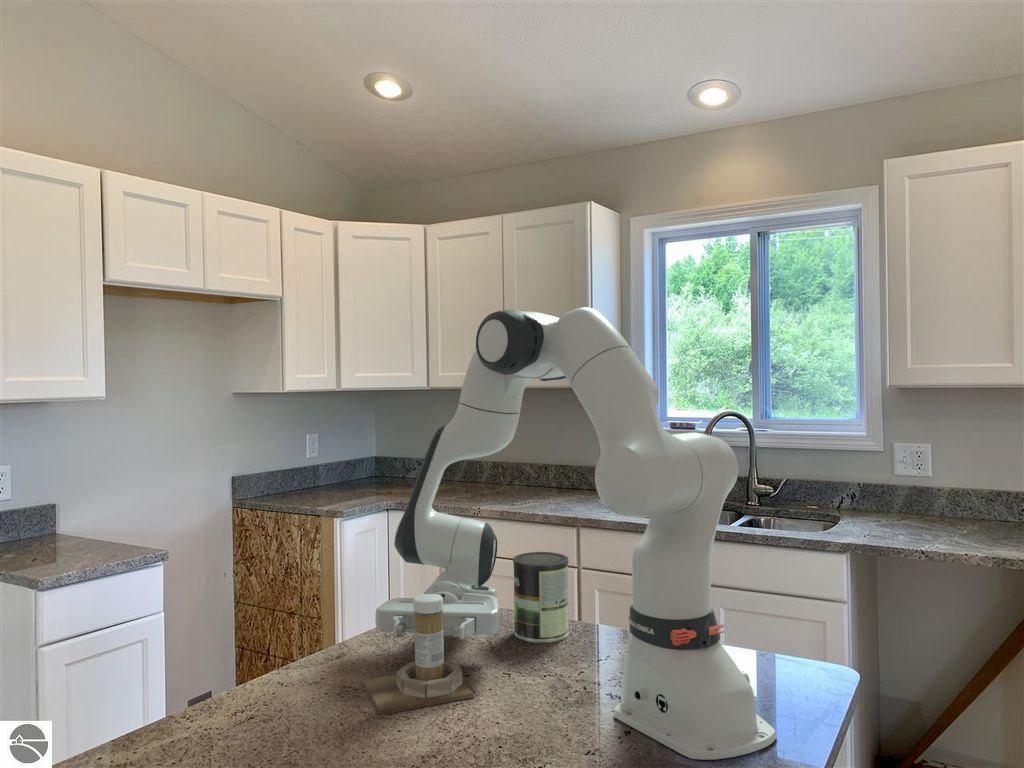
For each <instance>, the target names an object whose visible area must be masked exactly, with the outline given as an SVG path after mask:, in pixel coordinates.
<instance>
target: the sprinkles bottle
mask: <svg viewBox="0 0 1024 768" xmlns="http://www.w3.org/2000/svg"><path fill="white" fill-rule="evenodd" d="M413 598H414V600H413V610H414V614H415V632H414V659H415V660H414V662H415V664H416V680H422V681H431V680H436V679H442V678H444V674H443V663H444V661H445V660H444V659H445V657H444V656H445V655H444V652H445V651H444V649H445V648H444V634H443V624H442V612H443V610H442V609H443V597H442V596H440V595H437V594H424V593H423V594H419V595H416V596H415V597H413Z"/></svg>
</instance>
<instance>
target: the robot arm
mask: <svg viewBox="0 0 1024 768" xmlns="http://www.w3.org/2000/svg"><path fill="white" fill-rule="evenodd" d="M535 379H538V380H540V381H542V382H547V381H548V382H549V381H554V380H555V381H557V380H558V381H559V380H564V379H566V381H567V382H568V383H569V386H570V387H571V389H572V390H573V392H574V394H575V396H576V397H577V399H578V401H579V403H580V404H581V405H582V408H583V409H584V411H585V412H586V414H587V416H588V418H589V419H590V421H591V423H592V425H593V427H594V430H595V433H596V436H597V438H598V442H599V443H598V444H599V449H600V450H599V451H600V454H599V459H598V461H597V463H596V466H595V471H594V472H595V473H594V485H595V489H596V491H597V494H598V497H599V498H600V501H601V502H602V503H603V505H604V506H605V507H606V508H607V509H608V510H609V511H611V512H612V513H614V514H616V515H618V516H624V517H625V516H626V517H632V518H642V519H643V518H649V520H648V522H647V525H646V528H645V530H644V533H643V535H642V536H641V538H640V540H639V541H638V542H637V543H636V545H635V547H634V548H633V551H632V557H631V587H632V589H631V592H632V593H631V596H632V603H631V604H630V606H629V613H628V623H629V632H630V634H631V638H630V642H629V645H628V648H627V650H626V652H625V654H624V657H623V664H622V665H623V666H622V677H621V678H622V679H621V692H620V693H621V694H620V702H619V703H618V704H617V705H615V707H614V712H613V713H614V714H613V716H614V718H615V719H617V720H619V721H620V722H622V723H623V724H626V725H627V726H629V727H631V728H633V729H635V730H637V731H638V732H641V733H642V734H644V735H646V736H648V737H649V738H651V739H652V740H655V741H656V742H659V743H660V744H662V745H664V746H666V747H668V748H669V749H672V750H673V751H675V752H677V753H679V754H681V755H682V756H684V757H687V758H689V759H692V760H702V761H703V760H707V761H708V760H711V761H712V760H721V759H729V758H735V757H738V756H739V757H740V756H743V755H747V754H750V753H754V752H757V751H759V750H762V749H764V748H766V747H769V746H770V745H771V744H773V743H774V741H776V739H777V731H776V729H775V728H774V727H773V726H772V725H770V724H769V723H768V721H766V720H765V719H763V718H762V717H761V716H760V715H758V713H757V707H756V699H755V697H756V696H755V693H754V690H753V688H752V685H751V681H750V677H749V675H748V672H746V671H741V669H739V667H738V665H736V663H735V661H734V660H733V659H732V657H731V656H730V654H729V653H728V651H727V650H726V649H725V647H724V646H723V644H722V642H721V641H720V640H721V634H723V633H724V632H725V631H723V630H720V629H723V628H724V627H725V625H724V624H718V621H717V620H718V619H717V618H716V615H715V611H714V608H712V554H713V548H714V543H715V537H716V534H717V529H718V525H719V522H720V521H719V520H720V518H721V517H720V516H721V513H722V511H723V510H722V509H723V508H724V504H725V501H726V499H727V497H728V495H729V493H730V492H731V491H732V489H733V488H734V487H735V485H736V482H737V480H738V476H739V463H738V459H737V456H736V454H735V451H734V450H733V448H732V447H731V446H730V445H729V444H728V443H727V442H726V441H725V440H723V439H721V438H719V437H716V436H713V435H710V434H704V433H701V432H695V431H693V432H684V433H683V432H682V433H673V434H671V433H669V432H668V431H666V429H665V428H664V427H663V426H662V424H661V421H660V419H659V416H658V414H657V413H658V412H657V409H656V407H657V404H658V402H659V397H660V394H659V388H658V385H657V384H656V383H655V381H654V380H653V378H652V377H651V375H650V374H649V372H648V370H647V369H646V367H644V365H643V363H642V362H641V360H640V358H638V356H637V355H636V353H635V352H634V350H633V349H632V347H631V346H630V345H629V344H628V341H627V340H626V339H625V338H624V337H623V336H622V334H621V333H620V332H619V330H618V329H616V326H614V325H613V324H612V323H611V322H610V321H609V320H608V319H607V318H606V317H605V316H604V315H603V314H602V313H601V312H599V311H598V310H597V309H594V308H591V307H583V306H582V307H578V308H574V309H572V310H569V311H568V312H566V313H564V314H563V315H562V316H561V317H558V316H555V315H554V316H553V315H551V314H546V313H543V312H537V311H528V310H527V311H525V310H523V311H519V310H518V309H517V310H516V309H504V310H497V311H494V312H492V313H490V314H488V315H486V317H484V319H483V320H481V323H480V324H479V326H478V329H477V331H476V335H475V351H474V352H473V354H472V356H471V359H470V361H469V364H468V366H467V369H466V372H465V375H464V379H463V382H462V387H461V391H460V396H459V402H458V406H457V408H456V411H455V414H454V416H453V417H452V419H451V420H450V421H449V422H448V424H444V425H441V426H439V428H438V429H437V430H436V431H435V433H434V435H433V436H432V439H431V441H430V443H429V446H428V448H427V450H426V452H425V455H424V458H423V461H422V464H421V466H420V468H419V471H418V475H417V478H416V480H415V483H414V485H413V488H412V491H411V494H410V497H409V500H408V502H407V505H406V508H405V510H404V513H403V514H402V517H401V518H400V521H399V523H398V525H397V526H396V530H395V535H394V543H393V544H394V548H395V549H396V551H397V552H398V555H399V556H400V557H401V559H402V560H403V561H404V562H405V563H409V564H416V565H422V566H423V565H424V566H425V565H427V566H430V567H431V566H432V567H437V568H441V569H444V570H442V572H440V573H439V575H438V576H437V577H436V579H435V580H434V581H433V582H432V583H431V584H430V585H429V586H428V588H427V589H425V591H424V592H423V594H437V595H440V596H442V597H443V609H442V610H443V612H442V624H443V635H448V634H449V635H451V634H453V639H458V640H459V639H460V640H461V639H463V640H464V638H465V637H466V636H469V635H486V636H487V635H488V636H490V635H491V636H492V635H496V634H498V633H499V631H500V601H499V598H497V590H496V589H495V588H494V587H488V586H484V584H486V583H487V582H488V581H489V580H490V578H491V576H492V573H493V571H494V568H495V565H496V559H497V554H498V539H497V536H496V533H495V532H494V530H493V527H492V526H491V525H490V524H489V523H488V522H485V521H482V520H477V519H472V518H468V517H465V516H462V517H461V516H457V515H452V514H448V513H443V512H438V511H436V510H435V509H434V508H433V503H434V500H435V497H436V495H437V492H438V490H439V486H440V484H441V482H442V481H441V480H442V479H443V475H444V473H445V470H446V469H447V467H448V466H450V465H451V464H454V463H457V462H459V461H464V460H469V459H470V460H472V459H476V458H477V459H478V458H482V457H487V456H491V455H492V454H495V453H497V452H501V451H502V450H503V449H505V448H506V447H507V446H508V445H509V444H511V442H512V441H513V439H514V437H515V434H516V431H517V427H518V424H519V419H520V417H521V416H520V415H521V409H522V404H523V403H522V402H523V396H524V393H525V389H526V387H527V385H528V384H529V383H530V382H531V381H533V380H535ZM414 598H415V597H409V598H408V597H394V598H392V599H389V600H387V601H385V602H384V603H382V604H380V605H379V606H378V607H377V608H376V610H375V628H376V630H378V631H379V632H383V633H384V632H386V633H387V632H388V633H389V632H391V633H393V637H404V636H406V633H415V614H414V610H413V600H414Z"/></svg>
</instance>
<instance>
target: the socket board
mask: <svg viewBox="0 0 1024 768" xmlns="http://www.w3.org/2000/svg"><path fill="white" fill-rule="evenodd" d="M443 674H444V678H442V679H436V680H431V681H422V680H416V664H415V661H412V662H409V663H407V664H406V665H404V666H403V667H401V668H399V669H398V670H397V671H396V674H391V675H384V676H378V677H371V678H367V679H363V680H362V681H363V682H362V683H364V684H363V685H365V686H366V688H367V689H366V688H365V689H366V691H367V690H368V691H367V693H368V692H369V693H368V695H369V694H370V695H369V696H371V697H370V698H372V699H373V700H372V699H371V700H372V702H373V701H374V702H373V704H374V703H375V704H374V706H375V705H376V706H375V708H376V707H377V708H376V710H377V709H378V710H377V711H378V713H379V715H380V716H382V715H386V714H387V715H388V714H393V713H397V712H399V713H400V712H402V711H403V712H404V711H409V710H414V709H419V708H425V707H429V706H437V705H440V704H445V703H450V702H456V701H461V700H467V699H472V698H474V693H473V691H472V690H471V689H470V688H469V687H468V686H467V684H466V683H465V682H464V681H463V670H462V668H461V667H459V665H458V664H456V662H454V661H449V660H444V663H443ZM365 686H364V687H365Z"/></svg>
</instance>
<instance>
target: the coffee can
mask: <svg viewBox="0 0 1024 768" xmlns="http://www.w3.org/2000/svg"><path fill="white" fill-rule="evenodd" d="M512 563H513V602H514V606H513V607H514V609H513V610H514V614H513V615H514V616H513V617H514V618H513V619H514V631H513V634H514V636H515V637H516V638H517V639H519V640H521V641H524V642H527V643H534V644H548V643H555V642H559V641H562V640H564V639H567V638H568V636H569V634H570V631H569V565H568V564H569V557H568V556H567V555H564V554H562V553H559V552H551V551H531V552H530V551H529V552H524V553H521V554H517V555H515V556H514V557H513V558H512Z"/></svg>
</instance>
